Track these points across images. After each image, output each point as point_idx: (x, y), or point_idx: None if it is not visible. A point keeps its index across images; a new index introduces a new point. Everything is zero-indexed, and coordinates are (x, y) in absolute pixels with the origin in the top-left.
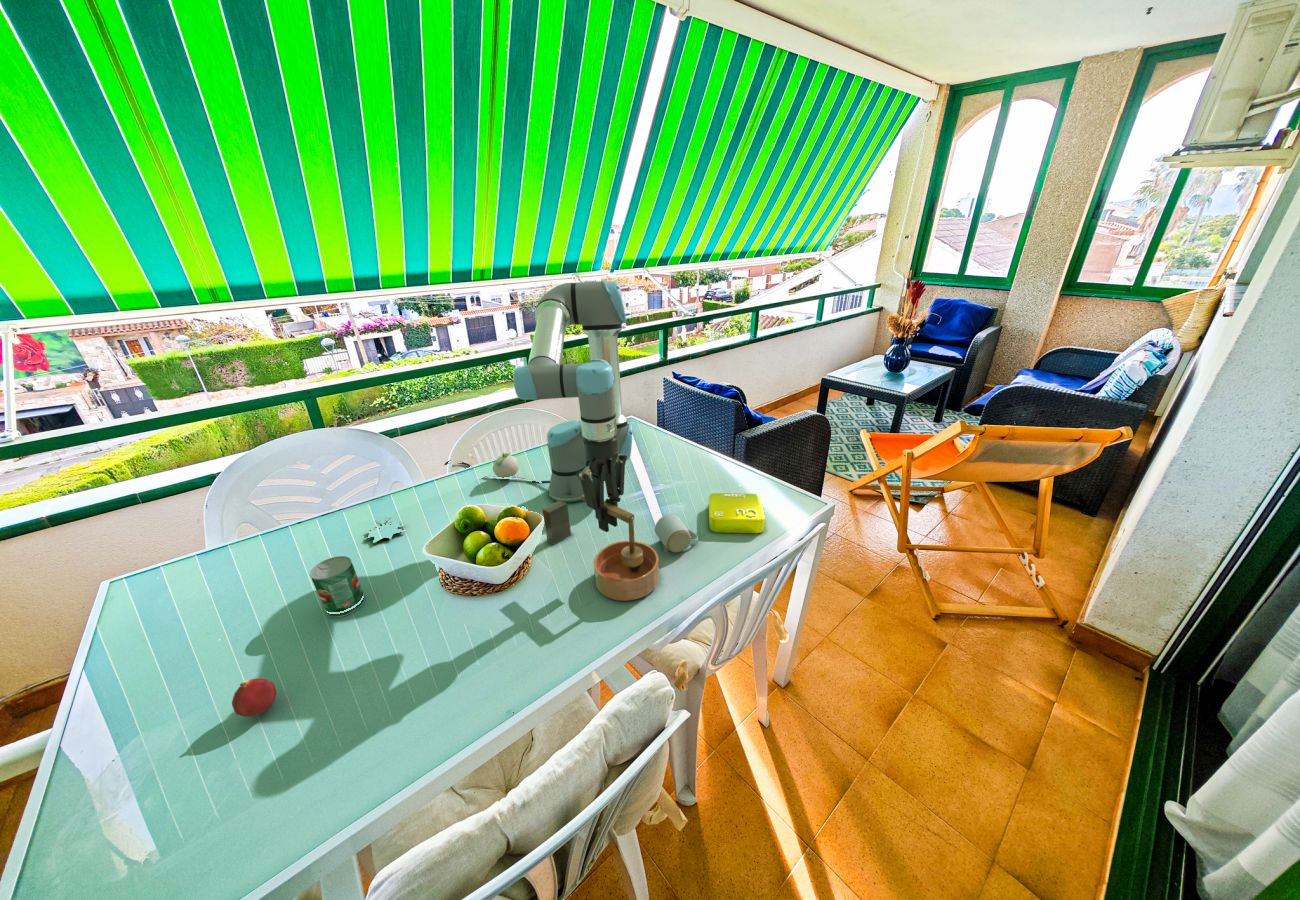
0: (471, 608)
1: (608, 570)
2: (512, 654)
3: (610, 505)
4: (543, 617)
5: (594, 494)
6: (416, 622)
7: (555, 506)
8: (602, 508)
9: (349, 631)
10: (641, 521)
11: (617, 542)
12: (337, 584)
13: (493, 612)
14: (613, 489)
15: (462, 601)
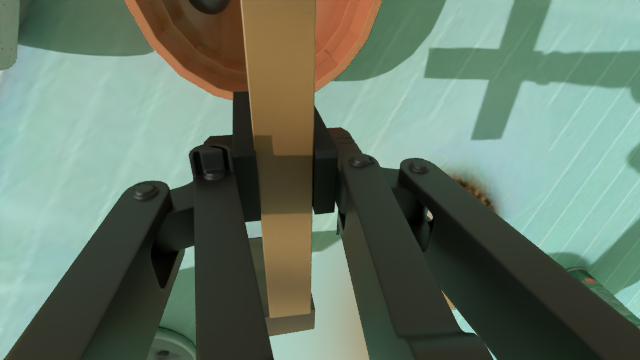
0: (515, 176)
1: None
2: (593, 6)
3: (274, 157)
4: (485, 48)
5: (481, 237)
6: (567, 203)
7: (282, 322)
8: (351, 155)
9: (601, 240)
10: (24, 172)
11: (214, 91)
12: (624, 312)
13: (510, 140)
14: (240, 232)
15: (507, 200)
